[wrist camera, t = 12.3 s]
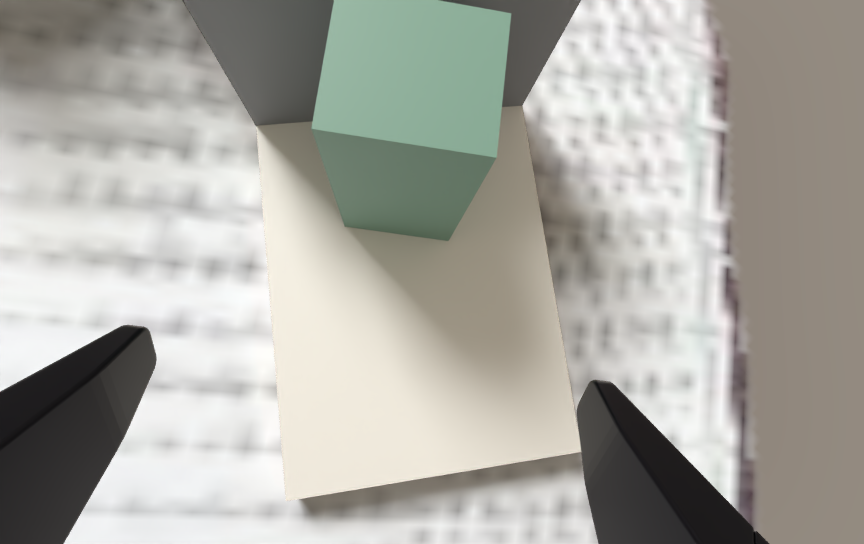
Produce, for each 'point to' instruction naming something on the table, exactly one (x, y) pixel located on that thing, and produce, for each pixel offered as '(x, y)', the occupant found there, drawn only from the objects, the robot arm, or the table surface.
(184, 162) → the table surface
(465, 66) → the mint green square pillar
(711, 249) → the table surface
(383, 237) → the shelf board
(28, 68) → the table surface
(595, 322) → the table surface
